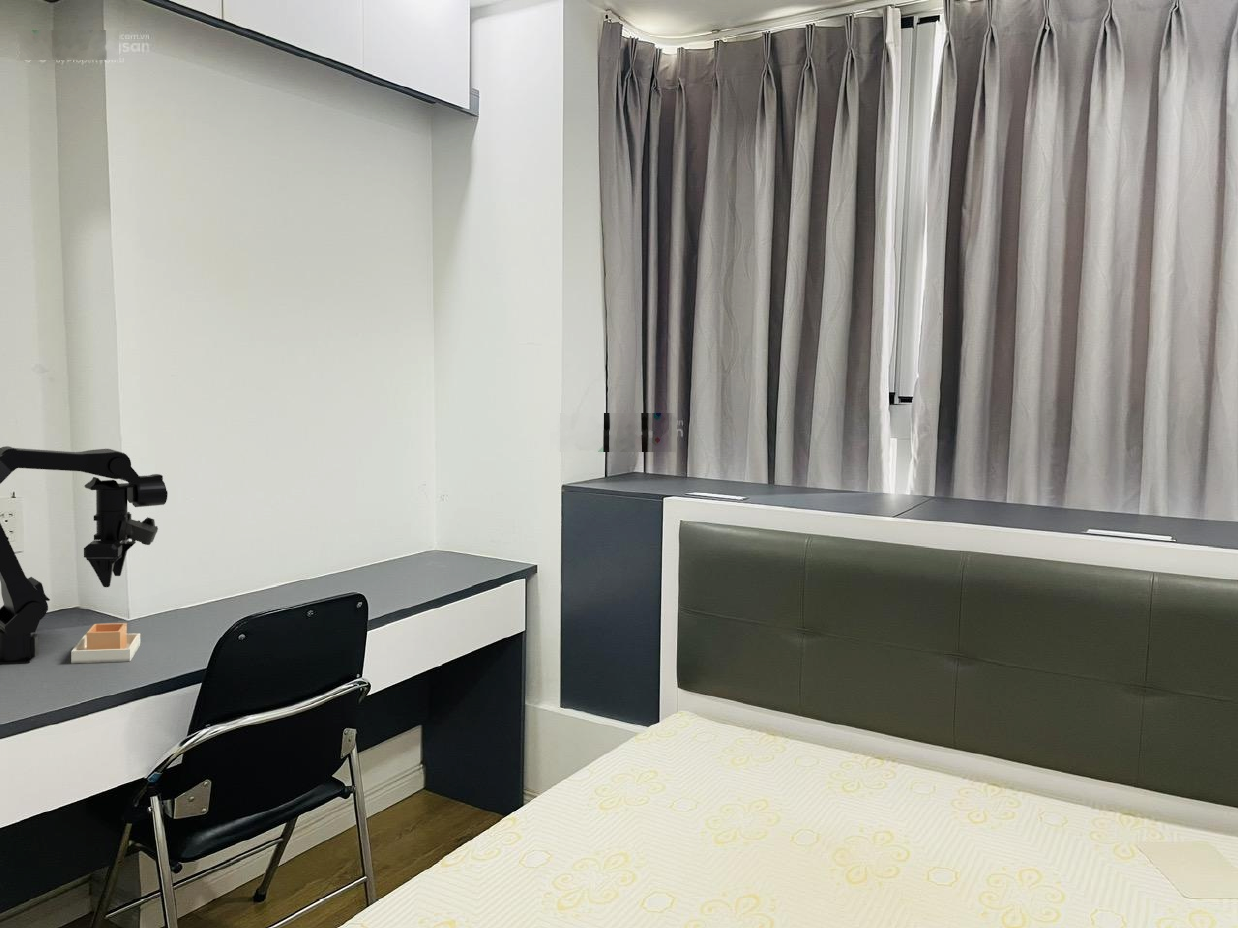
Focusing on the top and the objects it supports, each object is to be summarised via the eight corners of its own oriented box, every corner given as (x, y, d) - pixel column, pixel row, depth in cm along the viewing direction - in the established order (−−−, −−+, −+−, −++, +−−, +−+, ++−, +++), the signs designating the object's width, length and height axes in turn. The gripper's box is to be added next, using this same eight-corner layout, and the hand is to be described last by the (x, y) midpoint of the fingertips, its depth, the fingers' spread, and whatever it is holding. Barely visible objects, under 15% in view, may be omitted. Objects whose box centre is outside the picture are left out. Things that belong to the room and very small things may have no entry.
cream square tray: (71, 663, 178) (71, 651, 178) (84, 646, 188) (84, 634, 188) (130, 661, 181) (130, 649, 181) (140, 644, 191) (140, 633, 191)
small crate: (86, 656, 181) (86, 632, 180) (94, 647, 186) (94, 623, 186) (120, 655, 183) (120, 631, 182) (126, 646, 188) (126, 623, 188)
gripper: (144, 517, 182) (144, 592, 184) (163, 502, 200) (163, 570, 202) (82, 517, 179) (83, 593, 181) (107, 501, 197) (107, 570, 199)
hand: (112, 581), depth 191 cm, fingers open, 9 cm apart
